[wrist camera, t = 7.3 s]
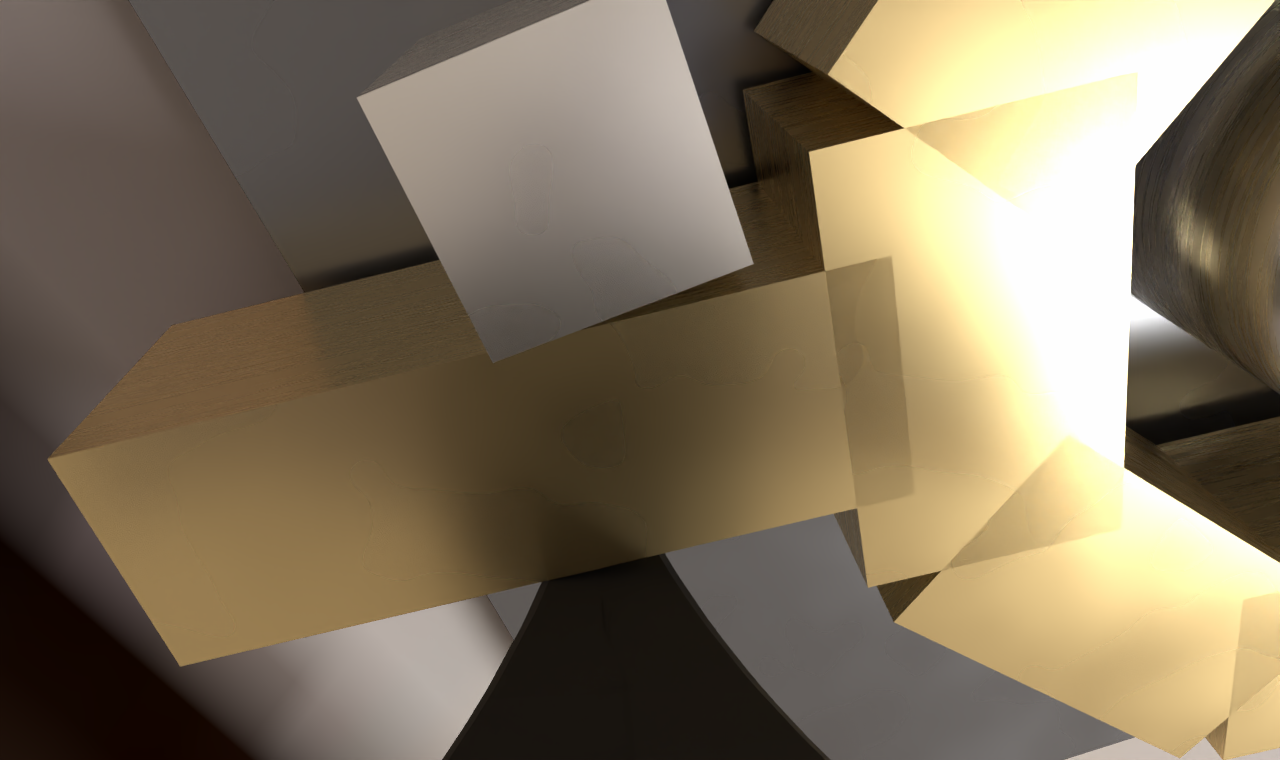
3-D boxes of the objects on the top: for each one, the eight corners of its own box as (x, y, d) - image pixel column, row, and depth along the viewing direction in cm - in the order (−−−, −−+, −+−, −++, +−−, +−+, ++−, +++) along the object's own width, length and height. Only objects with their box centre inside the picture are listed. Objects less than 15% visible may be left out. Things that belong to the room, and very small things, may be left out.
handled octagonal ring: (2151, -771, 6) (2975, -1124, 4) (1673, 470, 12) (1935, 600, 9) (-90, -180, 7) (-389, -223, 5) (398, 761, 12) (362, 952, 10)
